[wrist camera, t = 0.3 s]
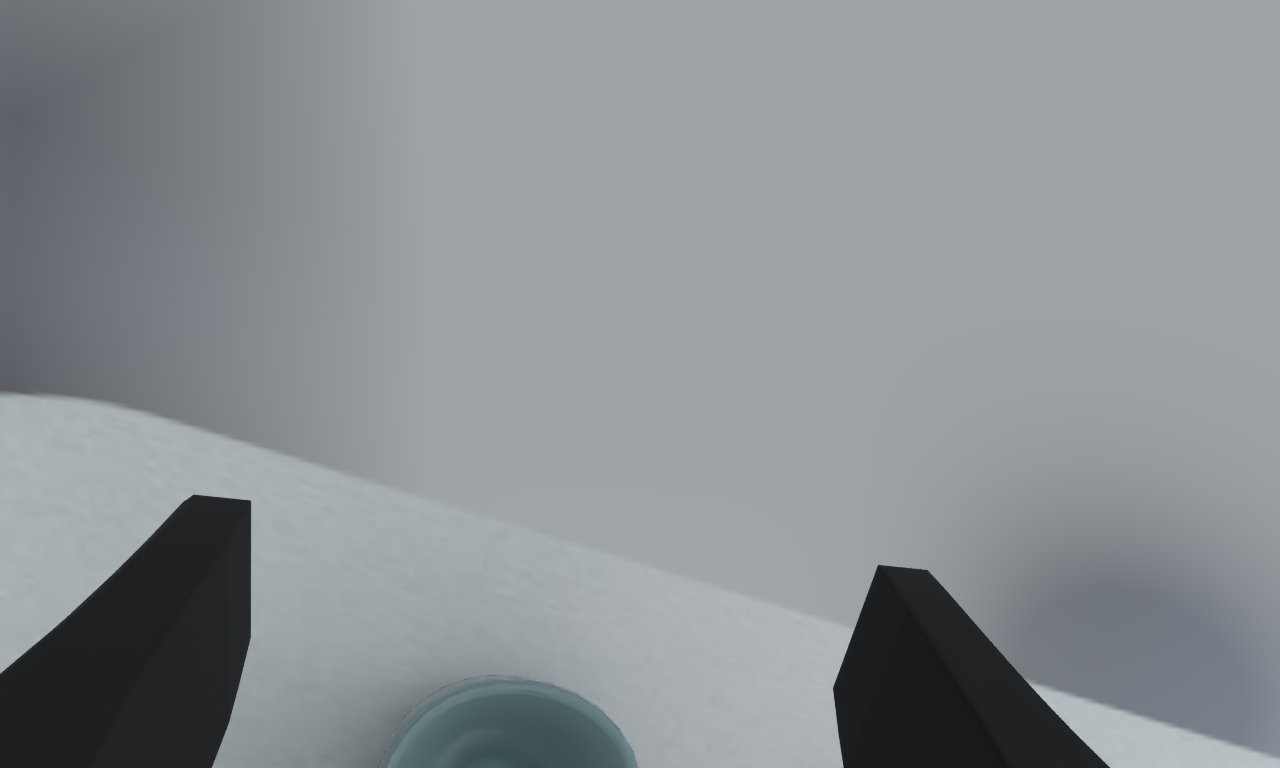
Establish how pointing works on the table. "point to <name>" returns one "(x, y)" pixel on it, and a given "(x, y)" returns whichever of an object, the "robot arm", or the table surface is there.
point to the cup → (506, 729)
